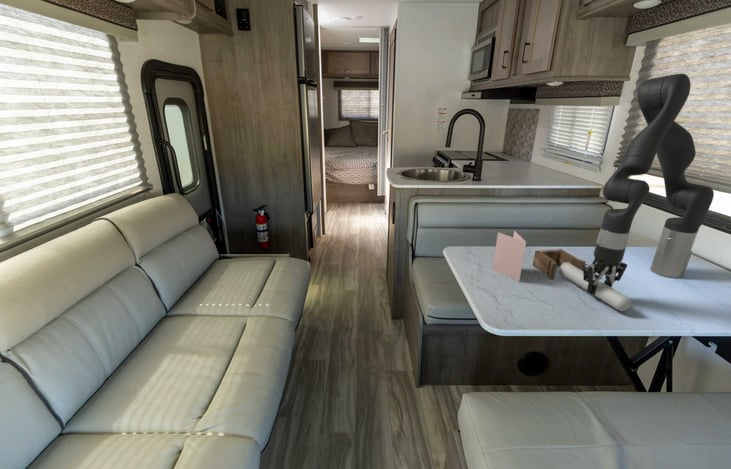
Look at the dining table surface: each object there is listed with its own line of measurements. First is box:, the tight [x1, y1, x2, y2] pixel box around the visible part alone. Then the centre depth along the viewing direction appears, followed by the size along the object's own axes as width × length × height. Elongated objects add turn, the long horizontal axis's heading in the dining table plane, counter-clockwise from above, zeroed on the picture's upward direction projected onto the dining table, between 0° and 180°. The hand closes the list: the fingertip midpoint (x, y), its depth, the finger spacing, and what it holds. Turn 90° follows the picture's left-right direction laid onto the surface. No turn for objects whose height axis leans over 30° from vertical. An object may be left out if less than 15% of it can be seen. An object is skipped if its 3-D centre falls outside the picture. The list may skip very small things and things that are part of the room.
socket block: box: [532, 248, 587, 281], centre depth 132 cm, size 13×12×6 cm
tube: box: [558, 262, 632, 312], centre depth 116 cm, size 5×5×25 cm
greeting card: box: [492, 230, 528, 283], centre depth 127 cm, size 11×7×15 cm, turn 178°
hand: (598, 292), depth 114 cm, fingers closed on tube, 4 cm apart
